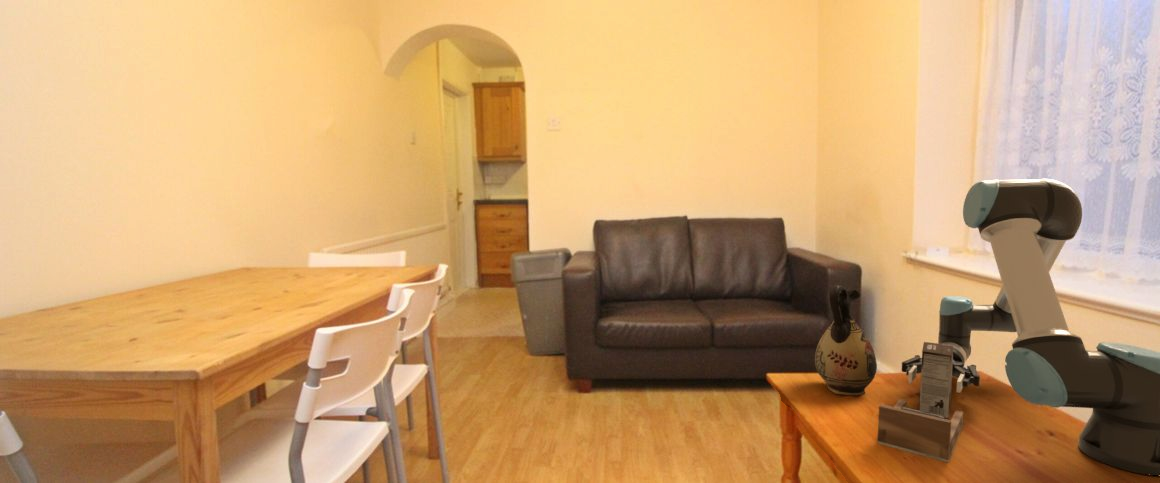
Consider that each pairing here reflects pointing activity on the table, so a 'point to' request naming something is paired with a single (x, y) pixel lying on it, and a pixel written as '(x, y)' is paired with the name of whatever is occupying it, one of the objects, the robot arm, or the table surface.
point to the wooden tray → (918, 431)
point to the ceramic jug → (845, 349)
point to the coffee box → (936, 379)
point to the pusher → (923, 412)
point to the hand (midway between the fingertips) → (933, 382)
